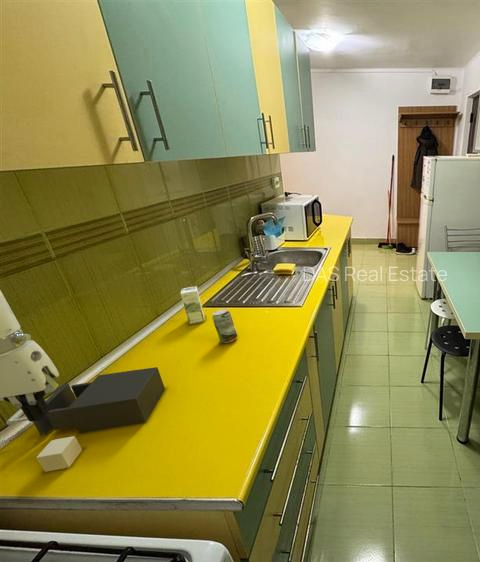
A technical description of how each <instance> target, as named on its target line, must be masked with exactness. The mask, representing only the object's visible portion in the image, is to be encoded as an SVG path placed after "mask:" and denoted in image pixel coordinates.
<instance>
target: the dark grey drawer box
mask: <svg viewBox="0 0 480 562" xmlns="http://www.w3.org/2000/svg"><path fill="white" fill-rule="evenodd" d="M160 373H161V372H160V370H159V368H158V366H155V367H148V368H141V369H133V370H126V371H120V372H119V371H118V372H111V373H104V374H99V375H97V377H96V378H94V379H93V381H91V382H92V383H91V384H90V385H89V386H88V387H87V388H86V389H85V390H84V391H83V393H82V394H81V395H80V396H79V397H78V398H76V400H75V401H74V402H73V403H72V404H71V406H70V407H69V408H68V409H67V410H68V411H69V414H70V416H71V417H72V419H73V421H74V423H75V425H76V427H75V428H76V429H77V431H78V433H79V434H80V435H82V434H86V433H93V432H98V431H104V430H110V429H116V428H122V427H128V426H133V425H139V424H144V423H145V424H146V423H147V422H148V419H149V418H150V416H151V415H152V413H153V412H154V409H155V407H156V406H157V404H158V402H159V401H160V399H161V397H162V395H163V394H164V392H165V390H166V388H165V385H164V382H163V379H162V376H161V374H160Z"/></svg>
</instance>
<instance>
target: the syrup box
mask: <svg viewBox="0 0 480 562" xmlns="http://www.w3.org/2000/svg"><path fill="white" fill-rule="evenodd" d="M180 297H181V300H182V304H183V308H184V310H185V314H186V318H187V321H188V325H189V326H190V325H194V324H200V323H203V322H205V313H204V310H203V305H202V301H201V297H200V294H199V290H198V286H196V285H195V286H189V287H184V288H181V289H180Z"/></svg>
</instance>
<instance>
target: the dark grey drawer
mask: <svg viewBox="0 0 480 562" xmlns="http://www.w3.org/2000/svg"><path fill="white" fill-rule="evenodd" d="M92 382H93V381H90V382H83V383H76V384H72V385H71V386H70V383H63V384H61V386H59V387H58V388H57V389H56V390H55V391H54V392H52V394H51V395H50V396H49V397H48V398H47V399H44V400H45V401H46V403H47V405H48V407H49V408H50V410H49V412H48V413H47V414H46V415H45V416H44V417H43V418H42V419H41V420H38V421H36V420H35V421H32V423H33V425H34V426H35V428H36V430H37V432H38V433H39V435H40V436H47V435H48V434H49V433H50V432H51V430H54V431H59V430H66V429H71V428H77V427H76V425H75V423H74V421H73V419H72V417H71V416H70V414H69V411H68V410H67V409H68V408H69V407H70V406H71V404H72V403H73V402H74V401H75V400H76V399H77V398H78V397H79V396H80V395H81V394H82V393H83V391H84V390H85V389H86V388H87V387H88V386H89V385H90V384H91V383H92ZM23 415H25V414H24V412H23V411H22V409H21V408H20V409H18V410H17V411H16V412H15V413H14V414H13V415H12V416H10V417H9V419H7V420H6V421H5V424H6V425H8V426H12V425H14V424H15V423H21V422H27V421H28V422H29V420H28V419H27V417H26V416H24V417H22V416H23Z"/></svg>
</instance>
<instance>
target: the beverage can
mask: <svg viewBox="0 0 480 562" xmlns="http://www.w3.org/2000/svg"><path fill="white" fill-rule="evenodd" d="M211 319H212V323H213V324H214V327H215V330H216V333H217V336H218V338H219V339H218V340H219V342H220V343H224V344H227V343H231V342H233V341H235V340H236V338H237V337H238V333H237V329H236V327H235V323H234V321H233V317H232V314H231V312H230V311H229V310H228V309H227V308H224V309H223V308H222V309H219V310H216V311H214V312H213V313H212V317H211Z"/></svg>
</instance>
